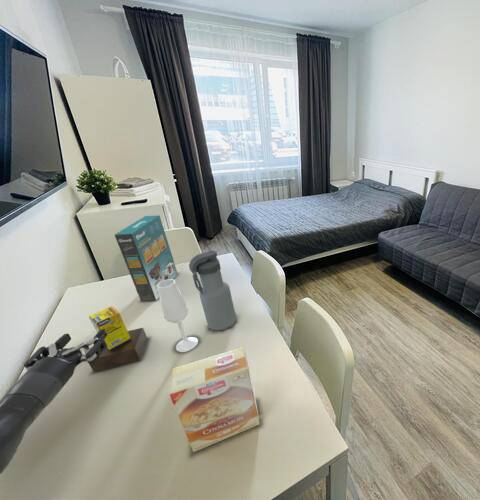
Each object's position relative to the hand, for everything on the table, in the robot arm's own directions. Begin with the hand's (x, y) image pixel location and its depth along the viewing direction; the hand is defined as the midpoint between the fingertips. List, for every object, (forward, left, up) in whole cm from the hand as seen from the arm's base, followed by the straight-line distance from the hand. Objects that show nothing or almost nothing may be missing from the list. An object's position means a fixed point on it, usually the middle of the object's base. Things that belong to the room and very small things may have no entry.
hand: (86, 333), depth 72 cm
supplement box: (+1, +8, -11) cm, 14 cm away
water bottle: (+31, +12, -16) cm, 37 cm away
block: (+1, +8, -16) cm, 18 cm away
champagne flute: (+20, +5, -16) cm, 26 cm away
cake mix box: (+5, +49, -16) cm, 52 cm away
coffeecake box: (+32, -28, -16) cm, 46 cm away
